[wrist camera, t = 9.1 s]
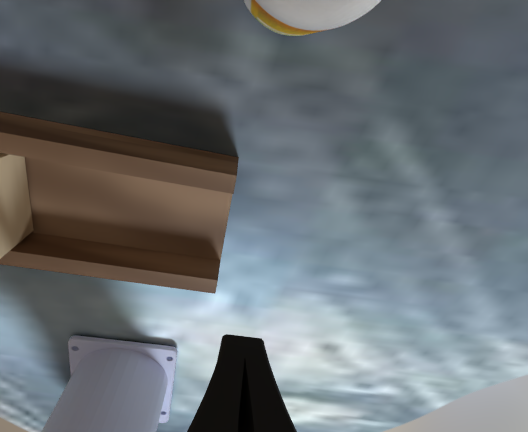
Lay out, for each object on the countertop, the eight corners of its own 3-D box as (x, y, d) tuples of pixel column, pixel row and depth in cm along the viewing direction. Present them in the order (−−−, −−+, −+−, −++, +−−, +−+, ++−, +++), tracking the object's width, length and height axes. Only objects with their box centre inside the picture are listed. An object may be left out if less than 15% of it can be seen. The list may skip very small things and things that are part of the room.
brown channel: (219, 263, 22) (215, 293, 20) (-75, 220, 20) (-126, 247, 17) (238, 157, 19) (236, 175, 16) (-114, 90, 16) (-184, 98, 14)
